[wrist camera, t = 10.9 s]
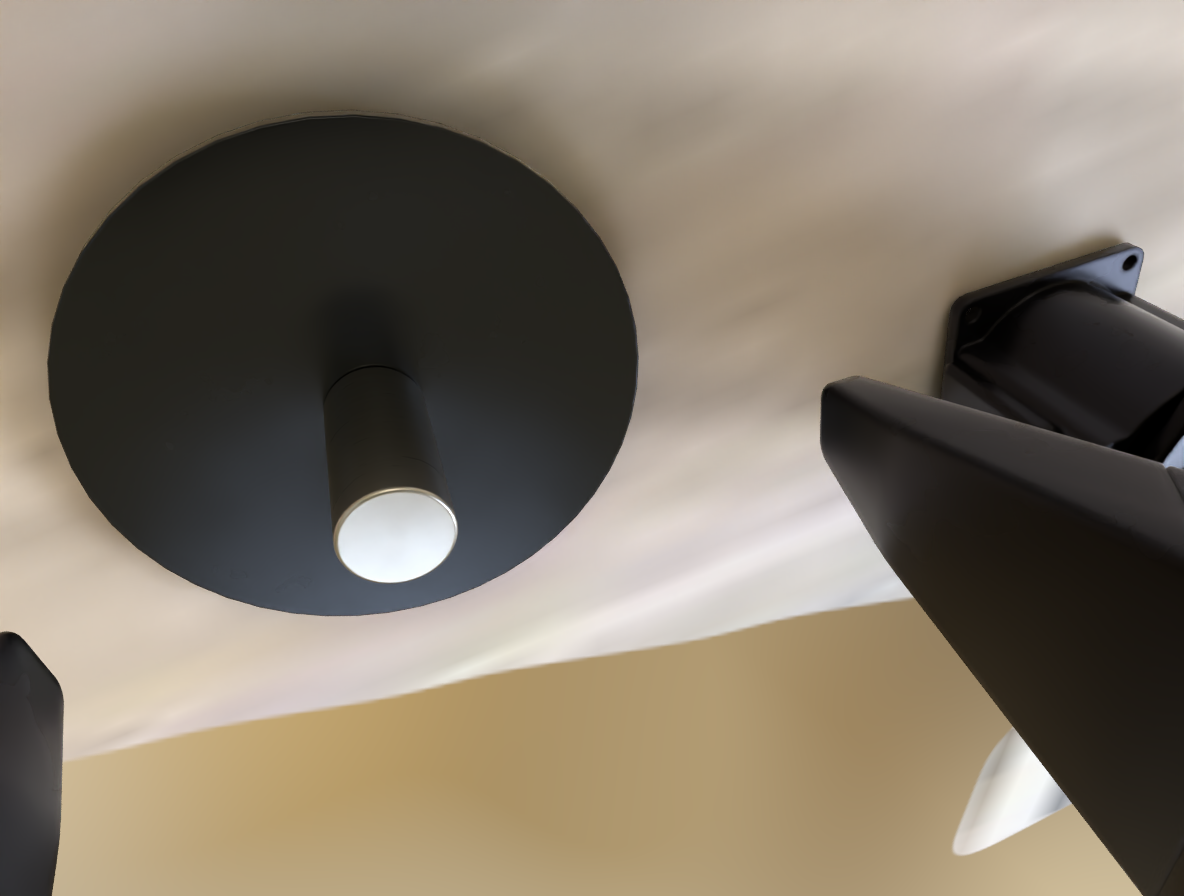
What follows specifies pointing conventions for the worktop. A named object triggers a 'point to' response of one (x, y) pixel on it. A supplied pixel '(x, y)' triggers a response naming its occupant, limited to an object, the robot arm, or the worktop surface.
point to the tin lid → (342, 363)
